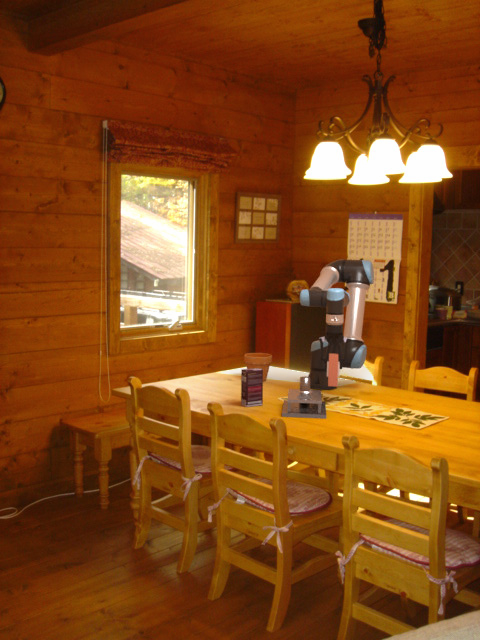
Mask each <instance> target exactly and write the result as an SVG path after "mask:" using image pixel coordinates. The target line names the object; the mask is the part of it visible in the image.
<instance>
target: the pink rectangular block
mask: <svg viewBox="0 0 480 640" xmlns="http://www.w3.org/2000/svg"><path fill="white" fill-rule="evenodd" d="M338 379H339V377H338V354H336V353H329V377H328V386H337V387H338V385H339V383H338Z"/></svg>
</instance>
